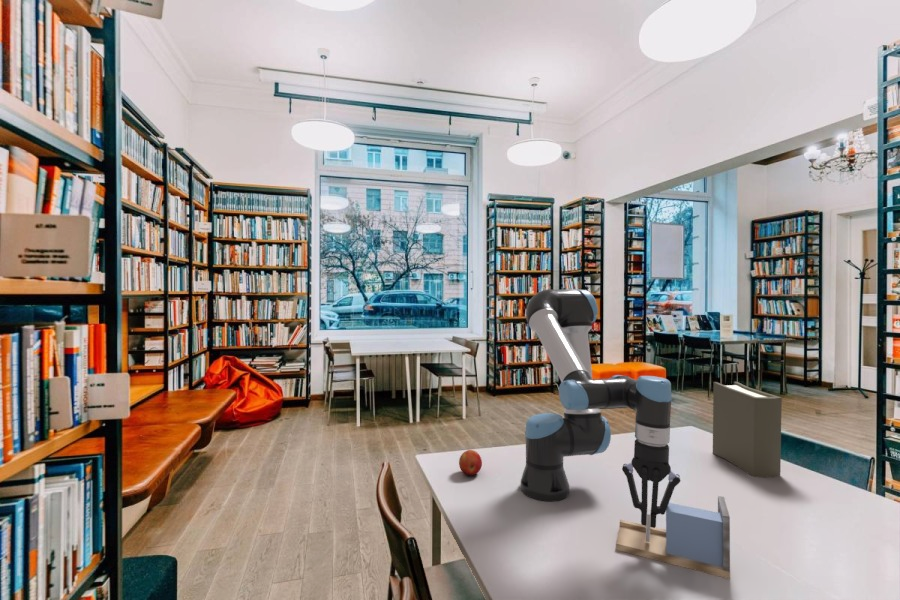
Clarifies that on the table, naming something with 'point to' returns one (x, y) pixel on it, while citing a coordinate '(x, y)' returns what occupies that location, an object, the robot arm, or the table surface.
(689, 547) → the slim book
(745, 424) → the book
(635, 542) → the shelf
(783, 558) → the table surface
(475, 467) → the apple
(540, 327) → the robot arm
